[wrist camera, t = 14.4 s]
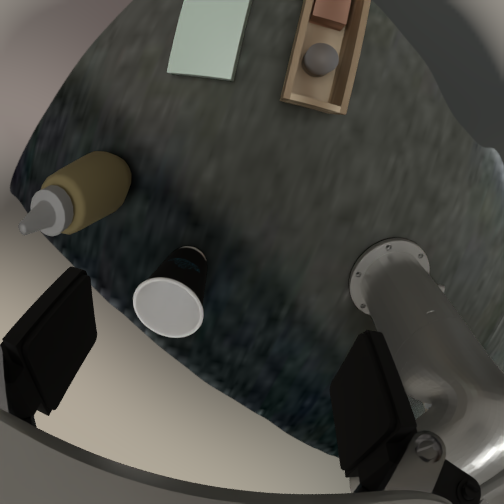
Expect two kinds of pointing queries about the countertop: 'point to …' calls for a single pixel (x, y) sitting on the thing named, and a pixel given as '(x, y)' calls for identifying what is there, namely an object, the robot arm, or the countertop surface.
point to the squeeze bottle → (78, 195)
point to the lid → (209, 38)
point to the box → (325, 54)
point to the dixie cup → (174, 294)
